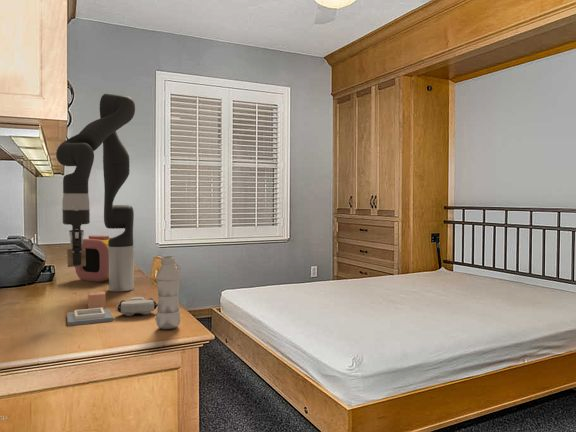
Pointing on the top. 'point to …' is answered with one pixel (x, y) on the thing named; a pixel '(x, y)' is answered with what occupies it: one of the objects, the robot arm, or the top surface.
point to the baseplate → (89, 316)
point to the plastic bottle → (168, 294)
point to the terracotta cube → (97, 300)
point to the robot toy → (136, 306)
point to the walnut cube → (70, 258)
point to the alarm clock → (95, 259)
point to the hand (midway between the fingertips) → (76, 263)
